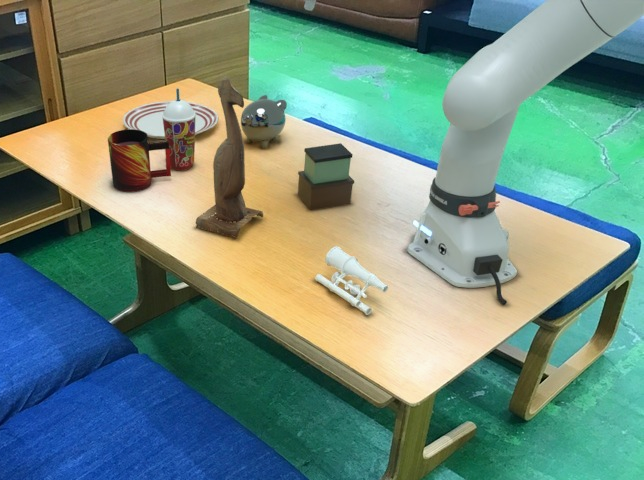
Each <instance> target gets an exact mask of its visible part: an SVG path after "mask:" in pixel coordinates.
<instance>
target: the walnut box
mask: <svg viewBox="0 0 644 480" xmlns="http://www.w3.org/2000/svg"><path fill="white" fill-rule="evenodd" d="M297 175H298V183H297V184H298V186H297V196H298V197H299V199H300V200H301V201H302V202H303V203H304V205H305V206H306V207H307V209H308V210H309V211H314V210H315V211H316V210H323V209H327V208H334V207H335V208H336V207H340V206H347V205H351V201H352V192H353V186H354V184H355V180H354V179H353V177H351V176H350V175H349V177H348V179H344V180H338V181H331V182H324V183H317V184H313V183H312V182H311V181H310V179H309V178H308V177H307V176H306V175H305V174H304V170H298V171H297Z"/></svg>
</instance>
